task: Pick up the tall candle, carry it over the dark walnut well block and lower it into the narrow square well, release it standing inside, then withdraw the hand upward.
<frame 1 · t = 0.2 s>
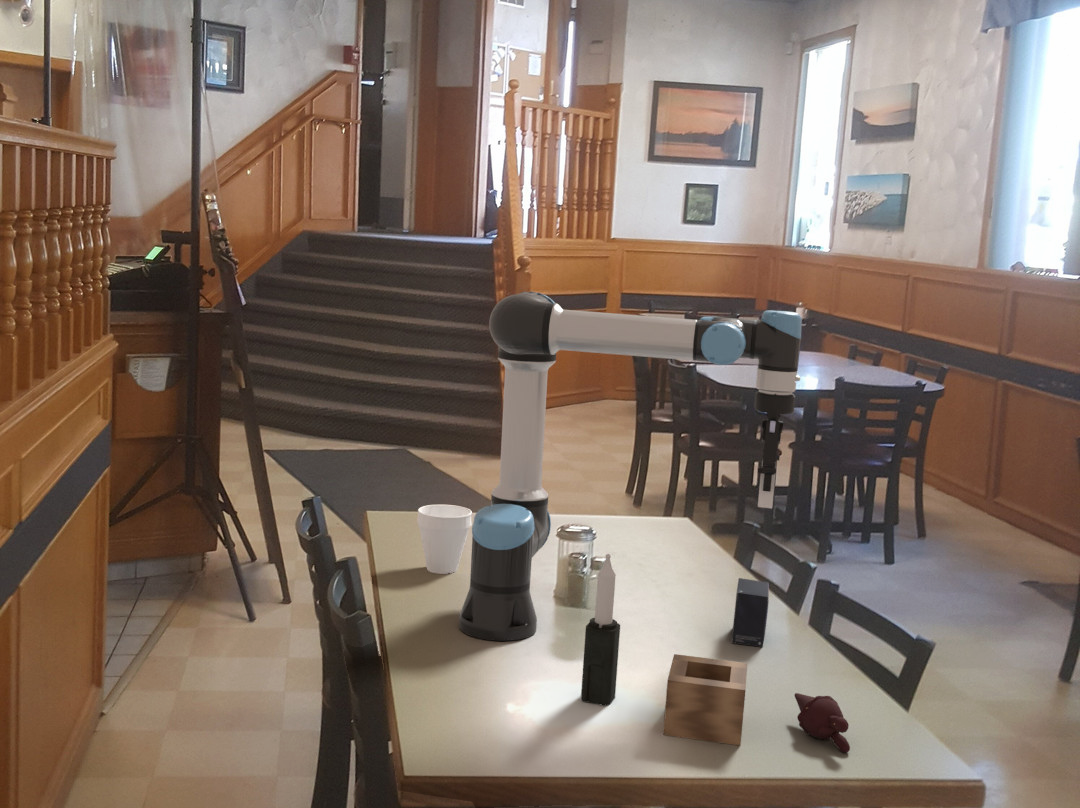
hand: (765, 500, 228), 28 cm above the table, fingers open, 13 cm apart
small box: (748, 638, 233), on the table
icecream: (818, 737, 188), on the table
well block: (703, 724, 189), on the table
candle: (597, 699, 197), on the table
cup: (442, 570, 266), on the table
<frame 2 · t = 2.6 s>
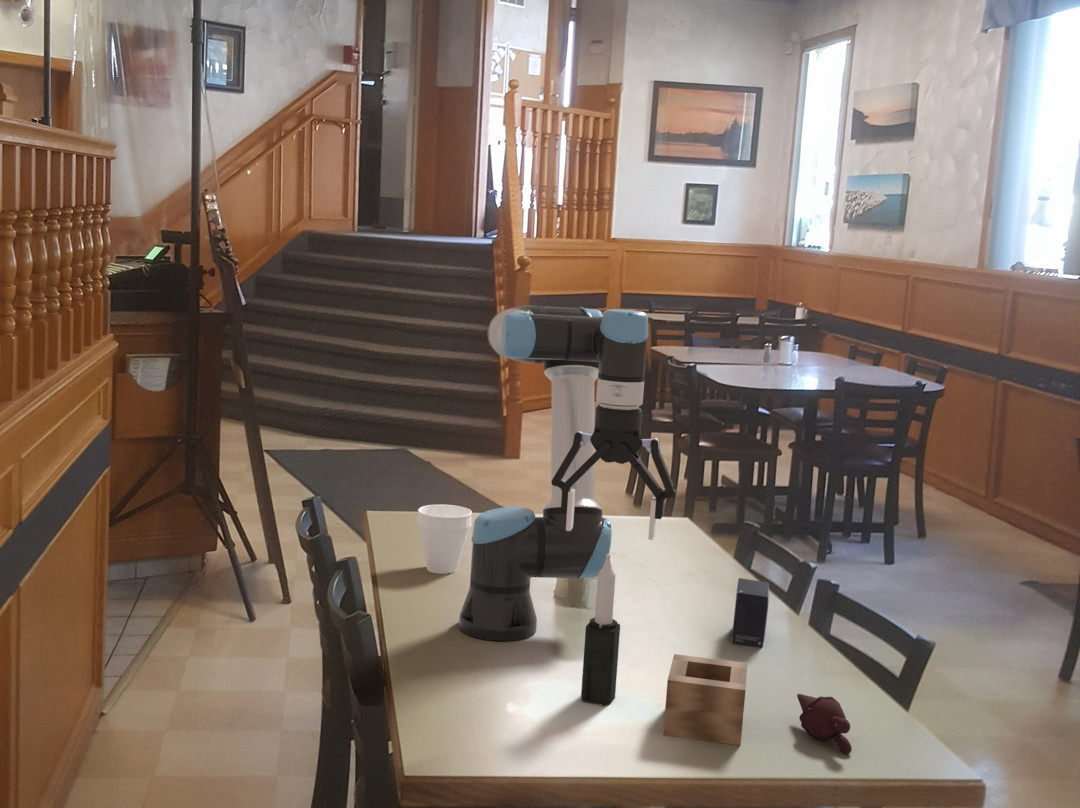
hand: (610, 533, 193), 28 cm above the table, fingers open, 13 cm apart
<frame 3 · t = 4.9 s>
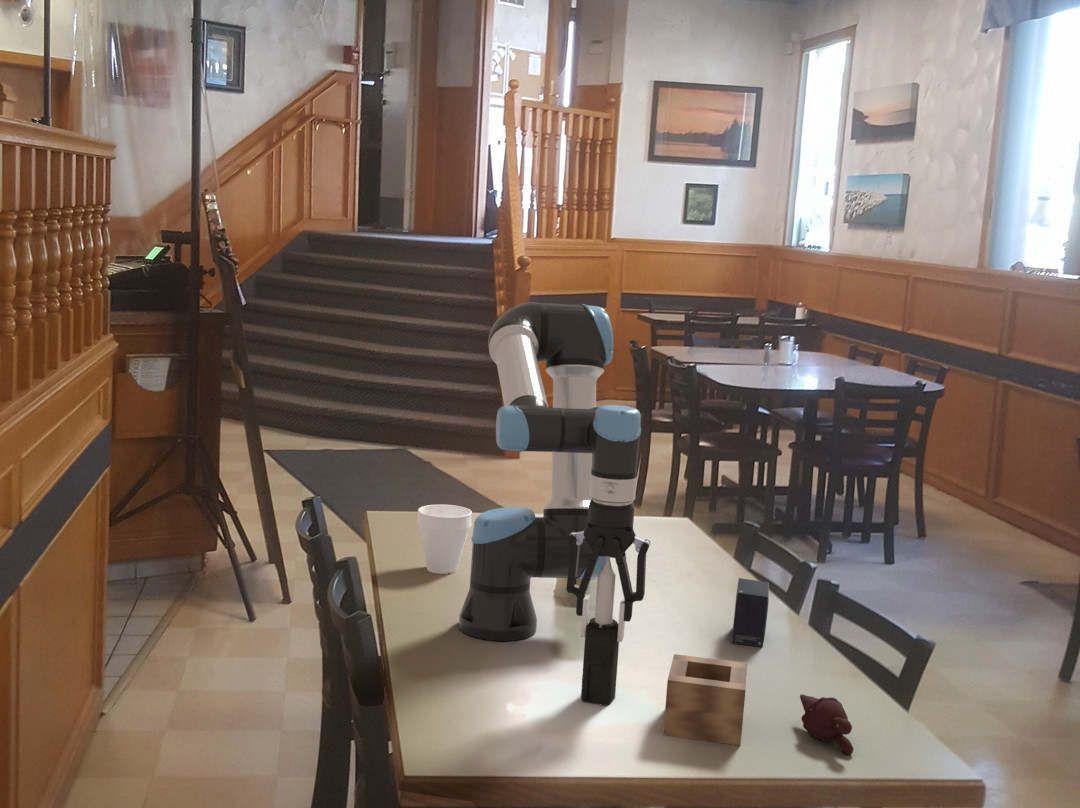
hand: (602, 636, 196), 11 cm above the table, fingers closed on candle, 5 cm apart
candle: (597, 699, 197), on the table, touching gripper
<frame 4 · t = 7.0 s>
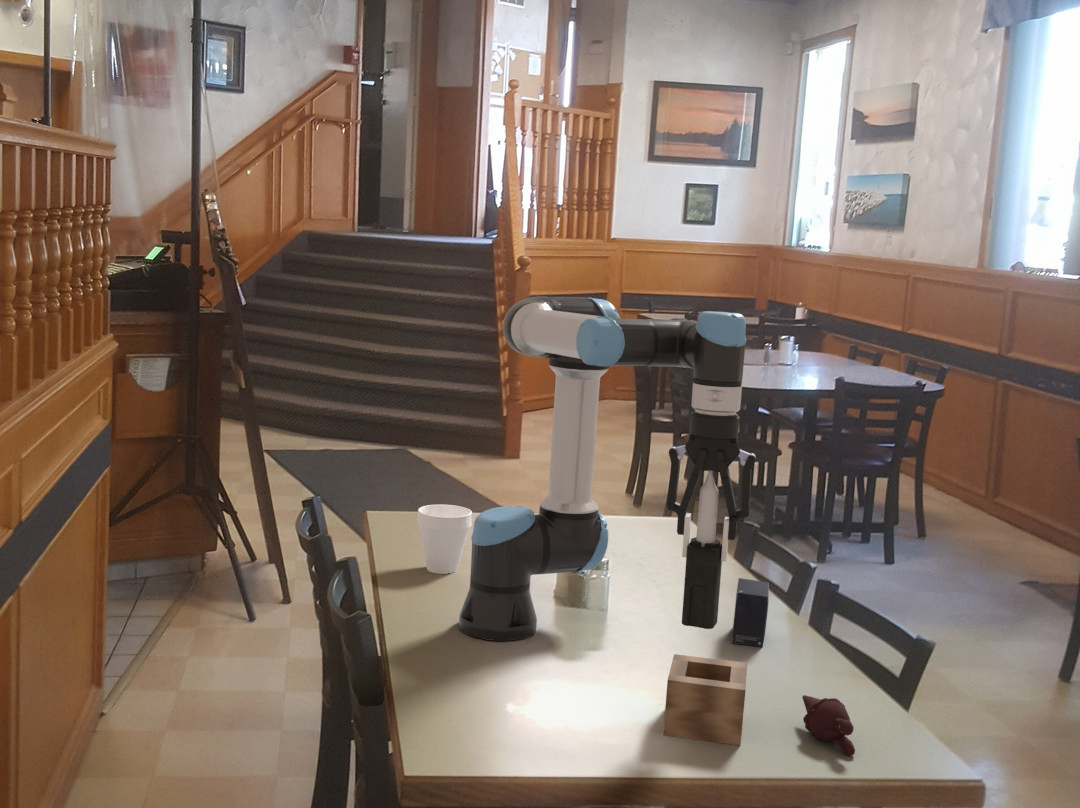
hand: (704, 556, 186), 28 cm above the table, fingers closed on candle, 5 cm apart
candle: (699, 624, 187), point 17 cm above the table, touching gripper
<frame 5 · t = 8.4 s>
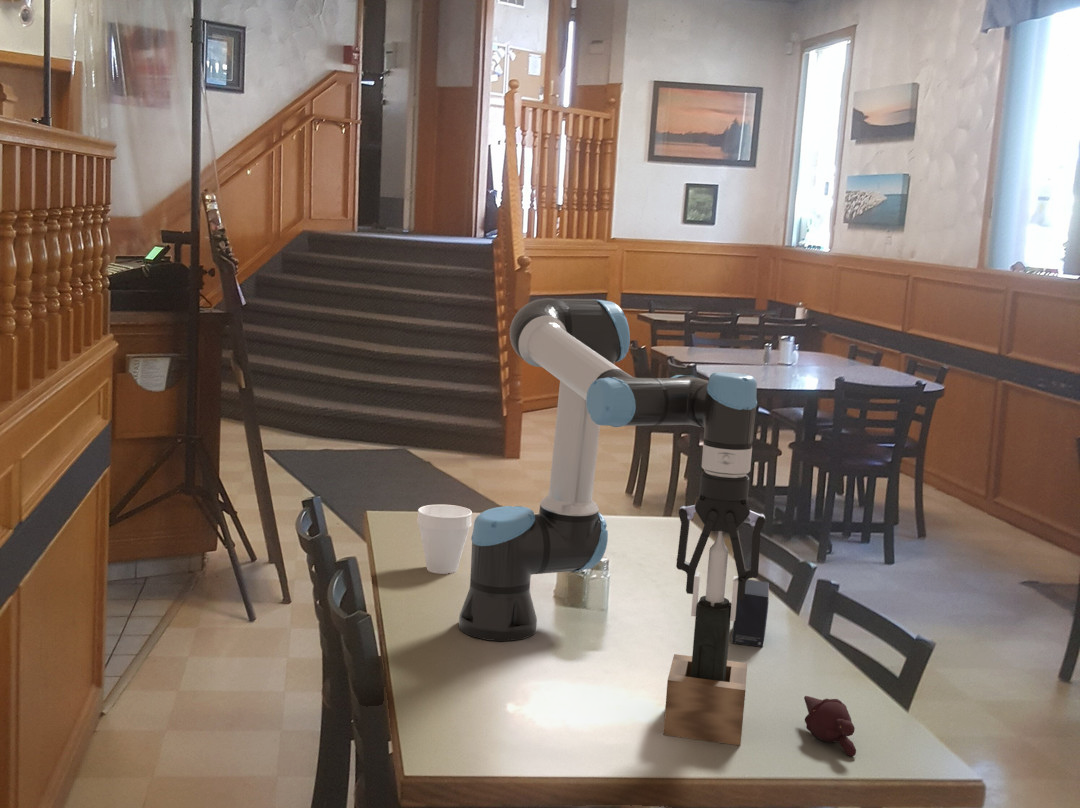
hand: (713, 615, 186), 18 cm above the table, fingers closed on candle, 5 cm apart
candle: (707, 681, 188), point 7 cm above the table, touching gripper
when the fingers open (12 cm above the table, at t = 9.6 s): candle drops 1 cm, resting in well block.
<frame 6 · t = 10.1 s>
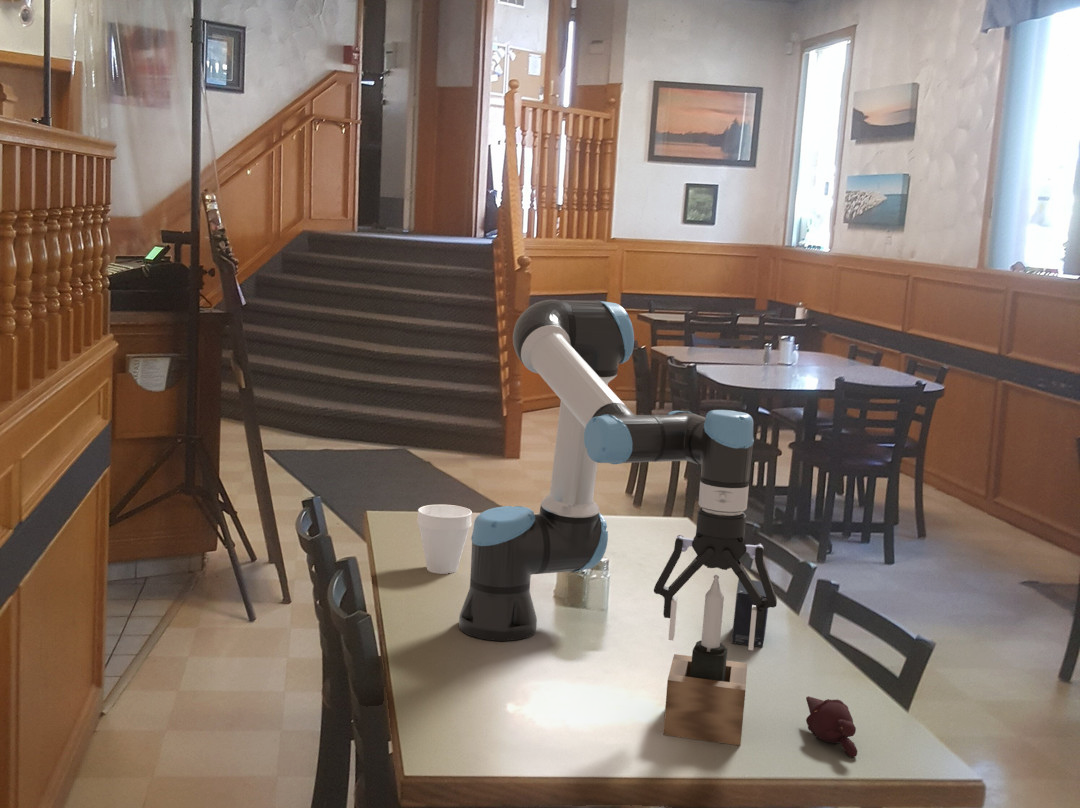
hand: (710, 642, 187), 14 cm above the table, fingers open, 12 cm apart
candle: (703, 726, 189), resting in well block
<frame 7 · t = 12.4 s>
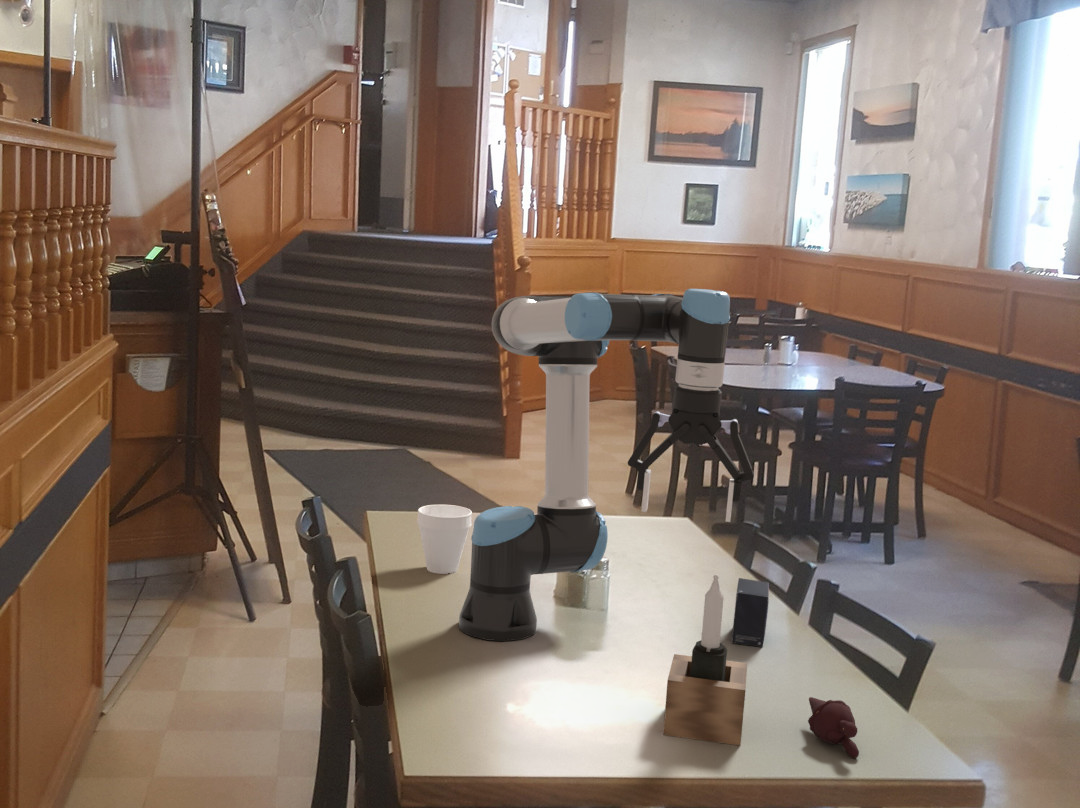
hand: (686, 515, 192), 33 cm above the table, fingers open, 13 cm apart
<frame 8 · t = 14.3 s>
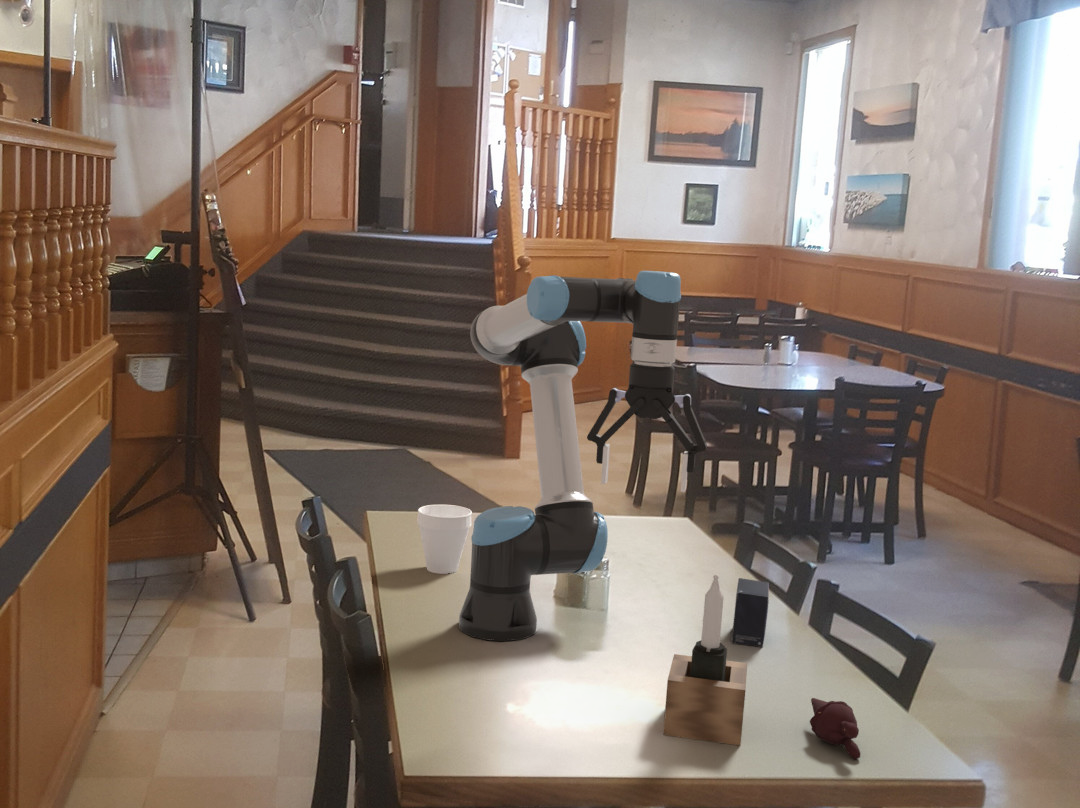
hand: (643, 486, 201), 35 cm above the table, fingers open, 13 cm apart
at the end: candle 0.1 cm off-centre on the well block, point 0.0 cm above the well block's base; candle tilted 0°; the gripper is holding nothing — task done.
